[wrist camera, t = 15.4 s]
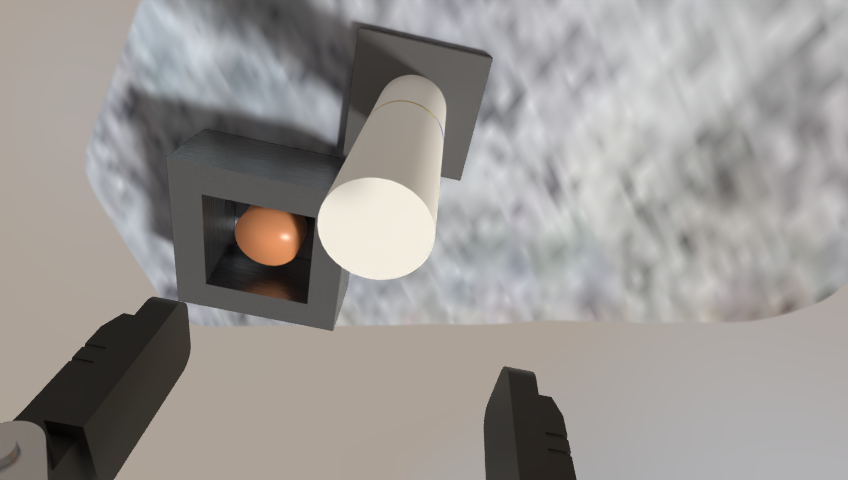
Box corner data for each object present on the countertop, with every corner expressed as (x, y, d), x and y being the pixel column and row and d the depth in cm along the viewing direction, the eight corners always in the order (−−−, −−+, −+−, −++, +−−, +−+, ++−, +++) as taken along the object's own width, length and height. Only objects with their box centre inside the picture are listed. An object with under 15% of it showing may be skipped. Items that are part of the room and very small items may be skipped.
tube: (363, 104, 30) (293, 222, 18) (415, 59, 29) (379, 153, 16) (408, 155, 32) (373, 297, 19) (460, 115, 30) (459, 241, 17)
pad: (360, 26, 28) (358, 28, 28) (492, 56, 29) (492, 58, 28) (344, 152, 33) (342, 155, 32) (460, 176, 33) (460, 180, 33)
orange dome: (246, 190, 33) (234, 204, 32) (309, 204, 34) (301, 217, 32) (245, 243, 36) (234, 258, 34) (304, 255, 36) (297, 271, 34)
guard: (204, 128, 32) (165, 157, 28) (365, 163, 33) (351, 196, 29) (209, 260, 38) (178, 300, 34) (347, 288, 39) (332, 331, 35)
